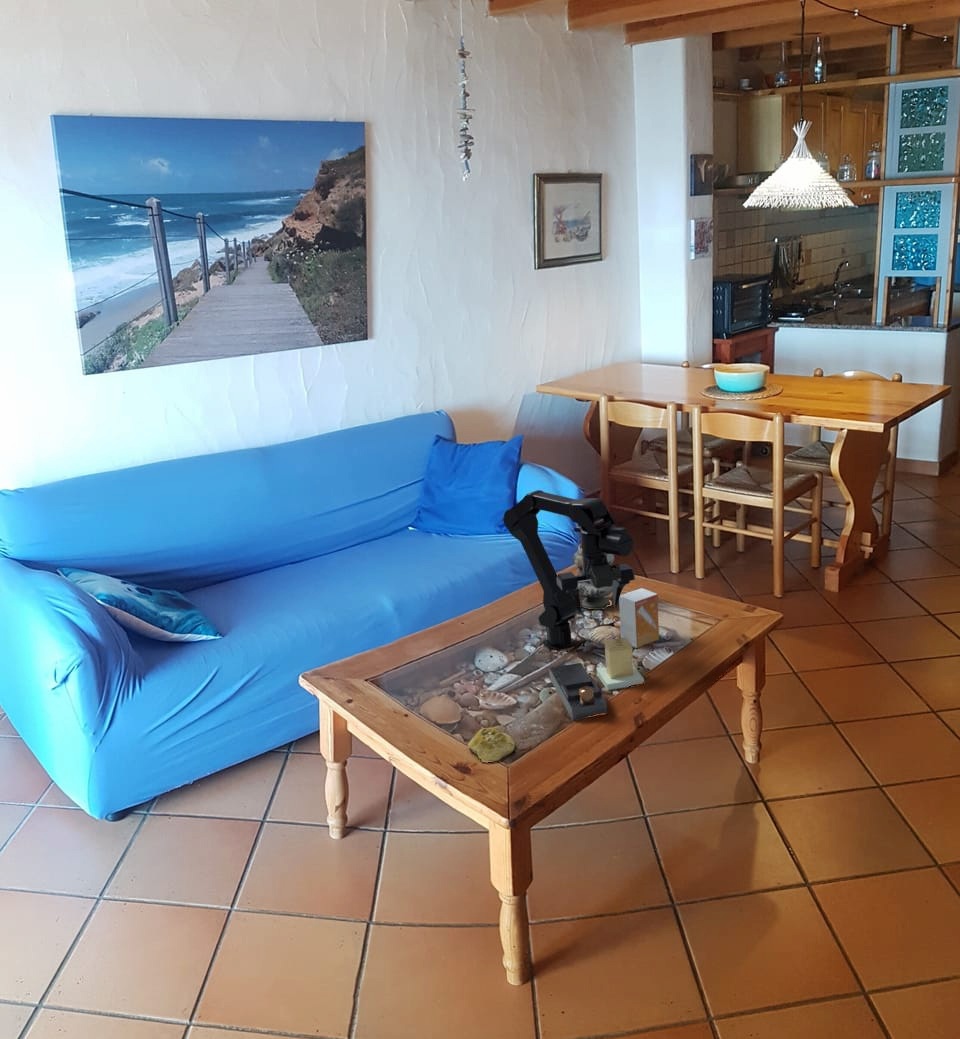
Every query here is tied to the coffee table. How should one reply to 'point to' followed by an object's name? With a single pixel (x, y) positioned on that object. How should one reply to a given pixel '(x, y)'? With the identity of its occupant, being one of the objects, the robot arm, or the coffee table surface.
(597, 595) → the apothecary jar
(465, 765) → the coffee table surface
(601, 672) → the sage mat
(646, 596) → the small box
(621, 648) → the lever cap
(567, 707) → the plane body
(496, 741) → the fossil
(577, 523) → the robot arm
